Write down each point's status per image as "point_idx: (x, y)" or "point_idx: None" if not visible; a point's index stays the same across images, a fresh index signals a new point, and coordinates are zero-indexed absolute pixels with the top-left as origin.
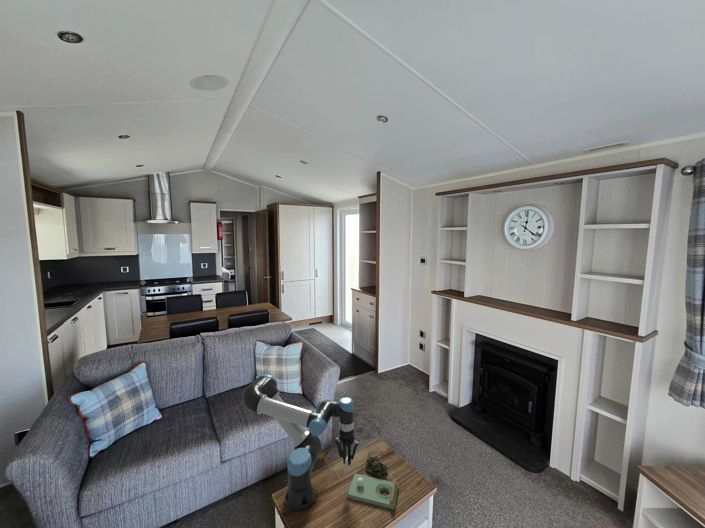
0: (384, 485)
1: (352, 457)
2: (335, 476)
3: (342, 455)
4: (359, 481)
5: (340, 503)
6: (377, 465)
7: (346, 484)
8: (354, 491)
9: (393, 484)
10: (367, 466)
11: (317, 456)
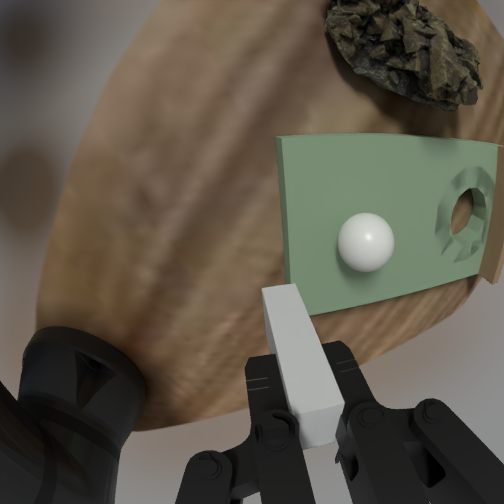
0: (469, 178)
1: (419, 460)
2: (136, 196)
3: (249, 495)
4: (373, 269)
5: (265, 342)
6: (460, 80)
7: (244, 225)
8: (329, 287)
9: None
10: (351, 39)
11: (15, 462)
